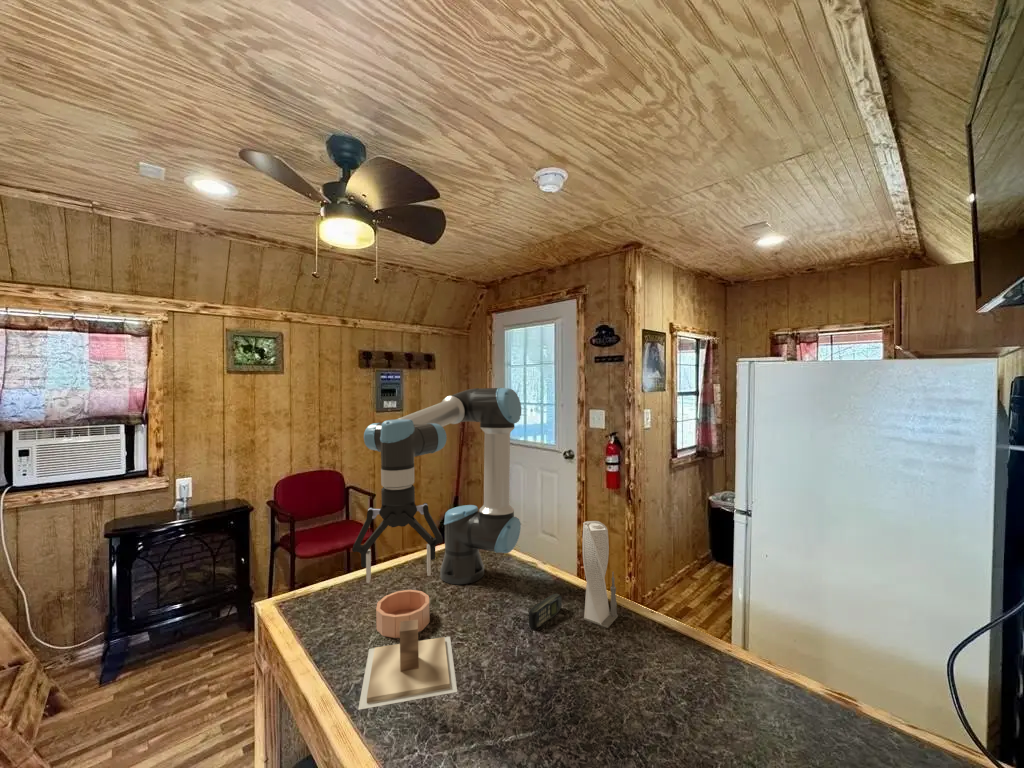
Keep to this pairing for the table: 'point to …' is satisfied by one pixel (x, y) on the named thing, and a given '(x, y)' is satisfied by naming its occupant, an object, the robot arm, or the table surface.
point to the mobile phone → (544, 611)
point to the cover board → (408, 679)
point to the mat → (365, 705)
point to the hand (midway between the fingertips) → (399, 576)
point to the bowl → (401, 611)
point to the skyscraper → (597, 575)
